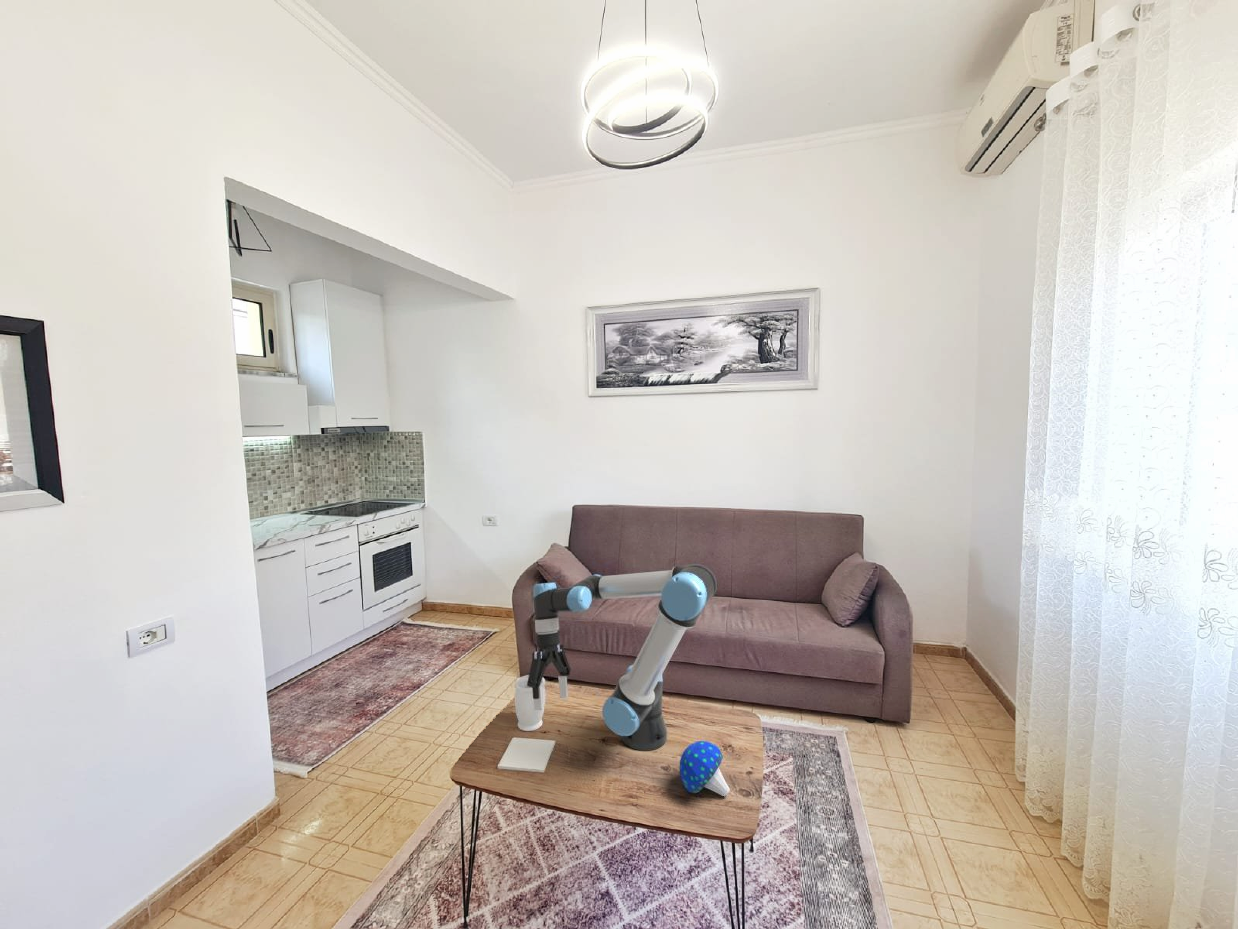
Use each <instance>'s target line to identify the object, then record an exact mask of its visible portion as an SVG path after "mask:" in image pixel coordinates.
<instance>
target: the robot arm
mask: <svg viewBox="0 0 1238 929" xmlns="http://www.w3.org/2000/svg"><path fill="white" fill-rule="evenodd" d="M717 584H718V582H717V578H716V576H715V574H714V573H713V571H712V570H711V569H710V568H708V567H707V566H705V565H703V564H699V563H698V564H697V563H692V564H685V565H678V566H677V565H676V566H673V567H672V569H671V570H659V571H649V572H637V573H636V572H635V573H623V574H615V575H614V574H613V575H611V574H610V575H601V574H597V573H596V574H593V575H588V576H587V577H585V578H584V579H582V580H580V581H578V582H576V583H574V584H573V585H570V586H568V587H567V586H566V587H557V584H556V582H544V583H537V584H535V585H533V598H532V599H533V609H534V622H535V624H534V627H535V633H536V634H535V645H536V647H538V651H532V653H531V655H532V656H531V658H532V660H531V664H530V669H529V673H528V675H529V678H528V682H527V686H529V687H532V690H533V699H534V710H543V701H542V686H540V683H541V681H542V678H544V675H545V672H546V669H547V667H548V666H549V665H550V664H553V666H554V668H555V669H556V671H557V672H558V674H559V675H558V676H557V677H558V692H559V693H558V694H559V698H561V699H564V698H565V699H567V698H569V694H568V676H570V675H571V670H572V669H571V666H570V663H569V660H568V658H567V656H566V653H565V648H564V644H560V643H561V642H560V640H561V639H560V632H559V630H560V622H559V613H571V612H572V613H573V612H574V613H578V612H582V611H584V612H585V611H587V610H589V608H590V606H591V605H592V602H593V601H596V600H609V599H611V600H612V599H625V598H643V597H659V596H660V600H659V602H658V604H657V609H658V611H659V614H658V616H657V618H656V620H655V622H654V624H653V625H652V628H651V629H650V632H649V634H648V635H647V637H646V639H645V641H644V643H643V645H642V646H641V649H640V651H639V653H638V655H637V656H636V659H635V661H634V662H633V664H632V665H629V666H628V667H627V669H626V673H625V674H624V675H622V676H621V677H620V678H619V680H618V682H617V685H616V686H615V688H614V690H613V691H612V694H611V695H610V697H608V698H607V699H606V700H605V702H604V704H603V705H602V711H601V713H602V718H603V720H604V723H605V724H606V726H607V727H608V728H609V730H611V731H612V732H613V733H615V734H616V735H618V736H620V738H621V741H622V742H623V743H624V745H626V746H627V747H629V748H631V749H634V750H637V751H643V752H644V751H655V750H656V749H659V748H661V747H663V746H664V745H665V744H666V742H667V740H668V730H667V726H666V723H665V720H664V716H663V682H664V679H663V674H664V672H665V669H666V667H667V665H668V664H669V662H670V660H671V659H672V656H673V655H674V653H675V651H676V649H677V647H678V645H679V643H680V641H681V640H682V638H683V635H684V634H685V633H686V630H687V629H692V628H694V627H695V625H696V623H697V622H698V619H699V618H700V616H701V615H702V612H703V611H704V609H705V607H706V606H707V604H709V602H710V601H711V600H712V599H713V598H714V596H715V594H716V592H717V586H718V585H717ZM531 681H532V682H531ZM536 682H537V683H536Z"/></svg>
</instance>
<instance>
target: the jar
mask: <svg viewBox="0 0 1238 929" xmlns="http://www.w3.org/2000/svg"><path fill="white" fill-rule="evenodd" d="M528 678H529V674H527V675H524V676H523V675H522V676H520V677H519V678H517V679H516V680H515V681H514V688H515V692H514V709H515V714H516V718H517V720H518V722H517V727H518V729H520V730H521V731H524V732H533V731H536V730H538V729H539V728H541V727H542V725H543V719H542V718H543V716H544V712H545V706H546V697H547V696H546V689H545V685H546V679H545V678H544V677H543V678H542V681H541V683H540V686H542V701H543V710H534V699H533V690H532V687H529V686H527V682H528ZM531 682H532V681H531ZM536 683H537V682H536Z"/></svg>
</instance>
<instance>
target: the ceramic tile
mask: <svg viewBox="0 0 1238 929" xmlns="http://www.w3.org/2000/svg"><path fill="white" fill-rule="evenodd" d="M555 745H556V740H554V739H553V740H552V739H551V740H549V739H538V738H525V737H512V739H511V740H510V742H509V744H508V746H507V748H506V750H505V752H504V753H503V755H502V757H501V759H500V761H499V762H498V764H497V769H499V770H511V771H524V772H533V773H534V772H535V773H545V771H546V767H547V765H548V764H549V761H550V757H551V755H552V753H553V750H554V748H555Z"/></svg>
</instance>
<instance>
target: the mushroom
mask: <svg viewBox="0 0 1238 929" xmlns="http://www.w3.org/2000/svg"><path fill="white" fill-rule="evenodd" d="M721 751H722V750H721V749H720V747H719V746H717V745H716V744H714V743H712V742H710V741H705V740H699V741H694V742H693V743H691V744H689V745H688V746H687V747H686V748H685V749H684V751H683V752H682V754H681V756H680V759H679V774H680V779H681V782H682V783H683V786H684V787H685V789H686V790H687V791H688V792H689V793H692V794H696V793H699V792H700V791H701V790H702V789H703V788H706V789H708V790H711V791H712V792H715V793H716V794H718V795H719V796H722V797H723V796H724V797H723V798H726V797H727V795H728V794H729V792H730V790H731V789H730V787H729V786H728V784H727V781H726V780H725V778H724V776H723V773H722V772H721V770H720V765H721V764H722V760H723V758H724V756H723V754H722V752H721Z"/></svg>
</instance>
